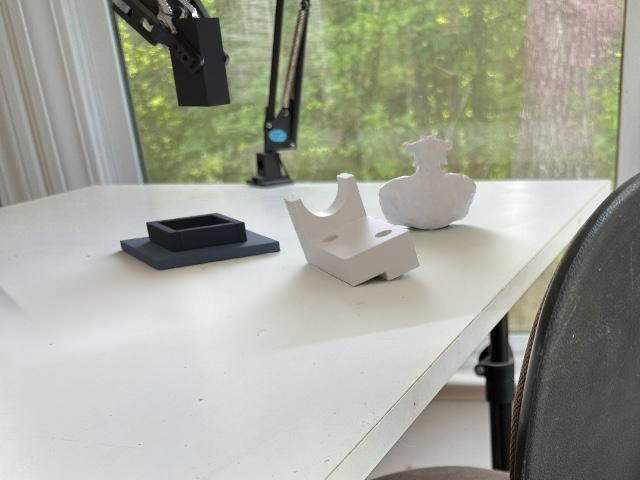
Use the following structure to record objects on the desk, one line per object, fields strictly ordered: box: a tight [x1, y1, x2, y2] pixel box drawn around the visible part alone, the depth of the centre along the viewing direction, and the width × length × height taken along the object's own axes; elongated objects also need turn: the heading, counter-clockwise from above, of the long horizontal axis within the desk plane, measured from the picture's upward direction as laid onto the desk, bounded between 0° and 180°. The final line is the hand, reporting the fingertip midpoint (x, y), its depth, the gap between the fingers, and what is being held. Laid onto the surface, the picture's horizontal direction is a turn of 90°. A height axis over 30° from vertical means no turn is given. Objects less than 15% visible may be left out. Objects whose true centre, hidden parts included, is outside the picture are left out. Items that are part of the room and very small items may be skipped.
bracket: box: [283, 172, 421, 287], centre depth 90 cm, size 13×7×8 cm, turn 28°
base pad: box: [119, 212, 281, 271], centre depth 102 cm, size 14×14×3 cm
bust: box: [378, 133, 478, 231], centre depth 106 cm, size 12×8×11 cm
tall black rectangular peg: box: [165, 16, 231, 108], centre depth 108 cm, size 4×4×9 cm
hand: (211, 66), depth 107 cm, fingers closed on tall black rectangular peg, 4 cm apart
